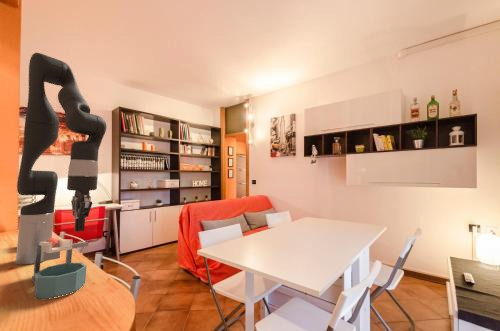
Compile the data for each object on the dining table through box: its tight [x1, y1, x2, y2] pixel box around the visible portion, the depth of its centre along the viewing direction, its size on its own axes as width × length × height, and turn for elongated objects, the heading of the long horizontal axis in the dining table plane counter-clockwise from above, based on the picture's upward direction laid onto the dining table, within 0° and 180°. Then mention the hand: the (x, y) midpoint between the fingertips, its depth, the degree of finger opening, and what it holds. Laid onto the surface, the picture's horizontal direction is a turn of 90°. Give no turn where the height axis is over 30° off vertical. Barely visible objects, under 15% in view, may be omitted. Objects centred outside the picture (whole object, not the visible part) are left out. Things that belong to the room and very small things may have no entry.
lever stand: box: [31, 240, 74, 286], centre depth 69 cm, size 5×9×10 cm, turn 141°
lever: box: [39, 238, 89, 262], centre depth 70 cm, size 15×9×6 cm, turn 51°
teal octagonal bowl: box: [33, 262, 87, 300], centre depth 62 cm, size 10×10×6 cm
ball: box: [46, 237, 58, 248], centre depth 72 cm, size 3×3×3 cm
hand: (79, 230), depth 69 cm, fingers closed
